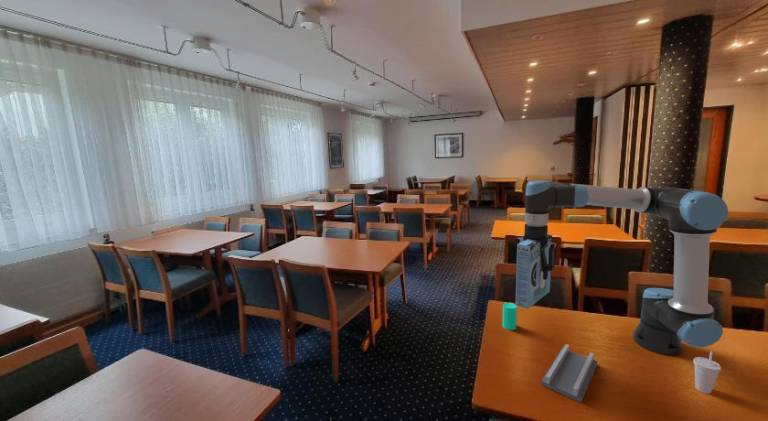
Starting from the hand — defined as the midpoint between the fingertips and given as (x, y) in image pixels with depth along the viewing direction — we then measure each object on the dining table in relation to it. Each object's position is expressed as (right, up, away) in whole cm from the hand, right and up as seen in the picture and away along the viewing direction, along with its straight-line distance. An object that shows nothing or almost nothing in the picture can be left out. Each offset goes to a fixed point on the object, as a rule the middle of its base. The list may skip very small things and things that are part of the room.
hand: (533, 284), depth 117 cm
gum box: (0, -5, +1) cm, 6 cm away
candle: (+2, -26, +28) cm, 38 cm away
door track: (+11, -31, -4) cm, 33 cm away
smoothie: (+50, -32, -13) cm, 60 cm away
